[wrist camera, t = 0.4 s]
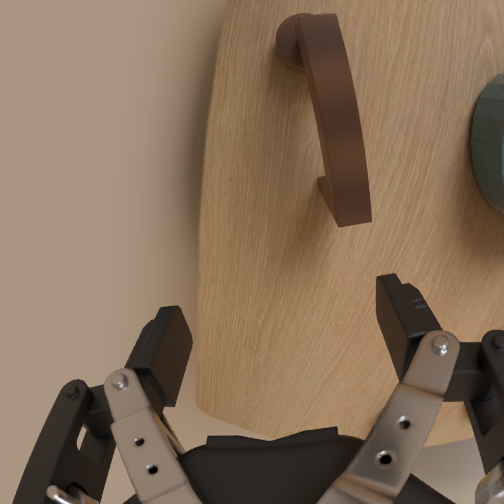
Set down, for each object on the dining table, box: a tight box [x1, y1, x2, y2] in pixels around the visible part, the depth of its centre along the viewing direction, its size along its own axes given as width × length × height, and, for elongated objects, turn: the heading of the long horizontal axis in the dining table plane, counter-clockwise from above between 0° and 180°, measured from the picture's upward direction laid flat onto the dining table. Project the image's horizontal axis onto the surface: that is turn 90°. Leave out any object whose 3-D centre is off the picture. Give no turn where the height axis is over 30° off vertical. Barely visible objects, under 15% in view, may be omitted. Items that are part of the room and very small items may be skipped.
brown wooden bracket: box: [276, 13, 372, 227], centre depth 21 cm, size 16×5×9 cm, turn 13°
